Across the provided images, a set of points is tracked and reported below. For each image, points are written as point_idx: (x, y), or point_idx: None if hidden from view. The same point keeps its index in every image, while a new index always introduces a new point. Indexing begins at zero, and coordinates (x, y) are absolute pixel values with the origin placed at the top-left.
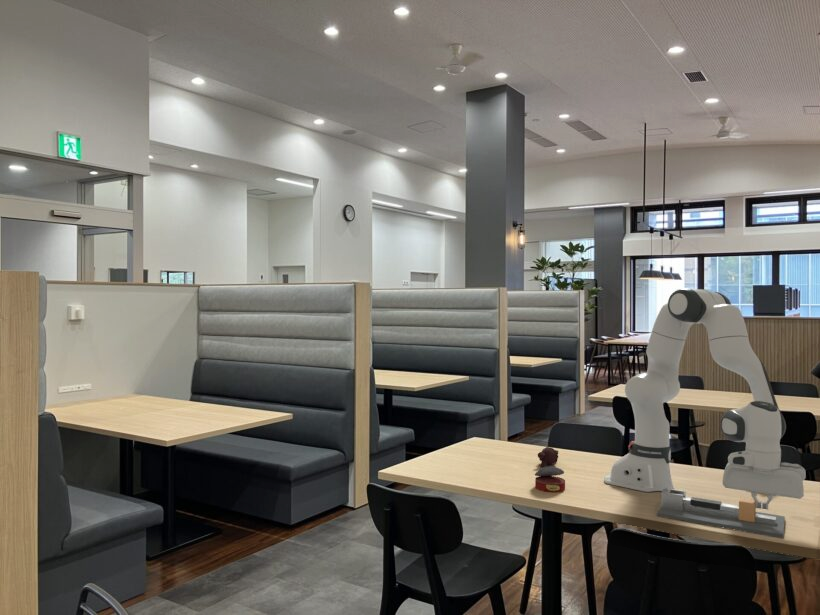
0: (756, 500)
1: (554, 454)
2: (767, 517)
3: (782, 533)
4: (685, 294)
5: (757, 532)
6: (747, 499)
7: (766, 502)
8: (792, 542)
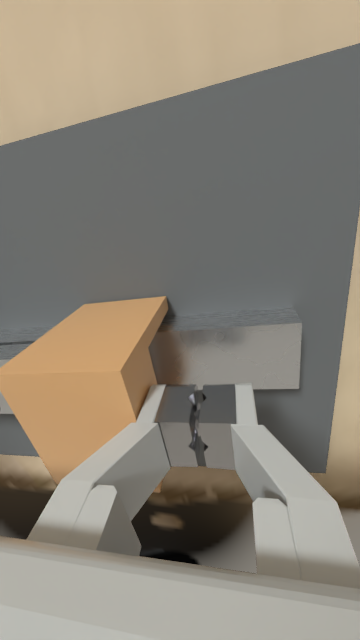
0: (153, 481)
1: None
2: (245, 369)
3: (323, 462)
4: None
5: None
6: (67, 412)
7: (245, 483)
8: (356, 478)
